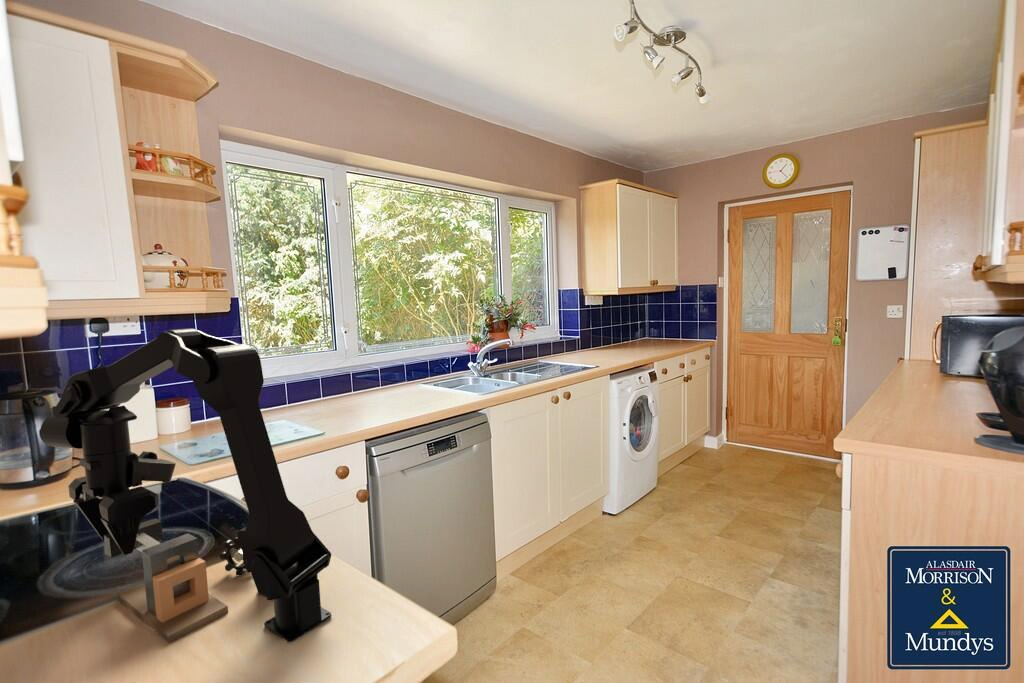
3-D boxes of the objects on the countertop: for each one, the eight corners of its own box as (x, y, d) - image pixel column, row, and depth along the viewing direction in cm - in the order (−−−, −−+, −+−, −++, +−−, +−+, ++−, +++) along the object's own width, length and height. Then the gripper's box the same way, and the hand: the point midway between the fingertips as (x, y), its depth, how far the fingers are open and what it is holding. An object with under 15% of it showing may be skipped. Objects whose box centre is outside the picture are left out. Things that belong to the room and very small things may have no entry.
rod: (199, 560, 75) (198, 541, 74) (145, 583, 69) (143, 562, 69) (156, 535, 84) (155, 518, 83) (105, 553, 78) (103, 535, 78)
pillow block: (202, 595, 74) (197, 538, 73) (156, 617, 69) (150, 556, 68) (193, 589, 76) (188, 533, 75) (147, 610, 71) (141, 550, 70)
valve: (267, 540, 94) (220, 575, 82) (264, 506, 93) (217, 537, 81) (299, 542, 92) (256, 578, 81) (297, 508, 92) (253, 539, 80)
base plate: (228, 612, 72) (227, 605, 71) (168, 643, 65) (167, 636, 65) (174, 576, 82) (173, 570, 82) (118, 600, 75) (117, 593, 75)
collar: (208, 600, 73) (205, 561, 72) (162, 622, 68) (158, 581, 68) (202, 595, 74) (199, 557, 74) (156, 617, 69) (152, 576, 69)
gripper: (191, 444, 78) (199, 539, 79) (144, 430, 89) (152, 514, 90) (103, 465, 69) (115, 572, 70) (63, 446, 80) (73, 539, 81)
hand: (117, 546), depth 78 cm, fingers open, 9 cm apart
